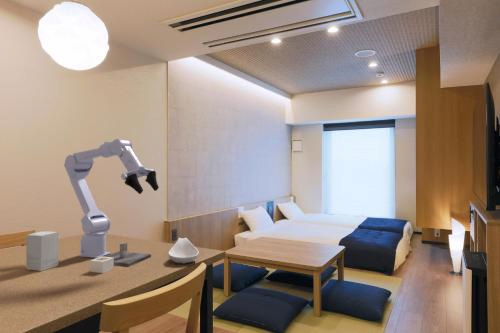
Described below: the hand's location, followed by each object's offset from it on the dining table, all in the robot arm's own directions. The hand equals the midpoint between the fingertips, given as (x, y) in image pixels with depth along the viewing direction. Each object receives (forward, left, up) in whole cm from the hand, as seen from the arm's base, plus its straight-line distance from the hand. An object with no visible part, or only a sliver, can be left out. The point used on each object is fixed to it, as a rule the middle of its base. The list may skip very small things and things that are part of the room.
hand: (149, 190), depth 126 cm
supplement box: (-34, -16, -28) cm, 47 cm away
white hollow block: (-11, -12, -28) cm, 32 cm away
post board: (-13, +2, -28) cm, 31 cm away
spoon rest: (+8, +12, -28) cm, 32 cm away
